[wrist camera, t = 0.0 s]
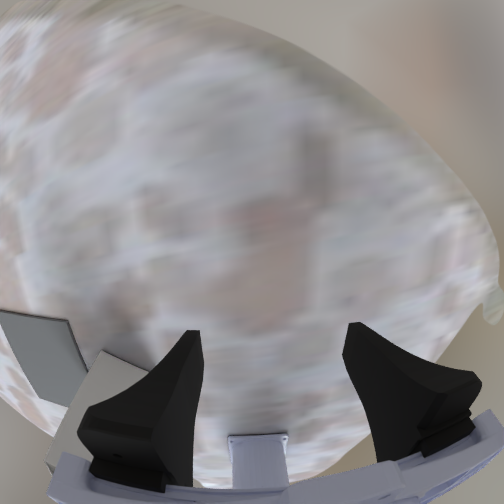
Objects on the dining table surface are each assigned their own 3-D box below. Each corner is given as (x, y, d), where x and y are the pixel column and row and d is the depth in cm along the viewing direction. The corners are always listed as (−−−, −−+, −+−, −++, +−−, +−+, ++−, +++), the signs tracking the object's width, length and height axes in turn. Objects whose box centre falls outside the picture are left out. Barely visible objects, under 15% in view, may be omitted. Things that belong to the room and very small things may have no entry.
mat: (111, 415, 28) (110, 417, 28) (40, 396, 28) (39, 397, 27) (67, 320, 23) (66, 322, 23) (-3, 309, 22) (-5, 310, 22)
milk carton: (96, 385, 26) (44, 510, 8) (101, 348, 24) (28, 496, 6) (148, 408, 27) (117, 542, 10) (161, 375, 26) (123, 540, 8)
